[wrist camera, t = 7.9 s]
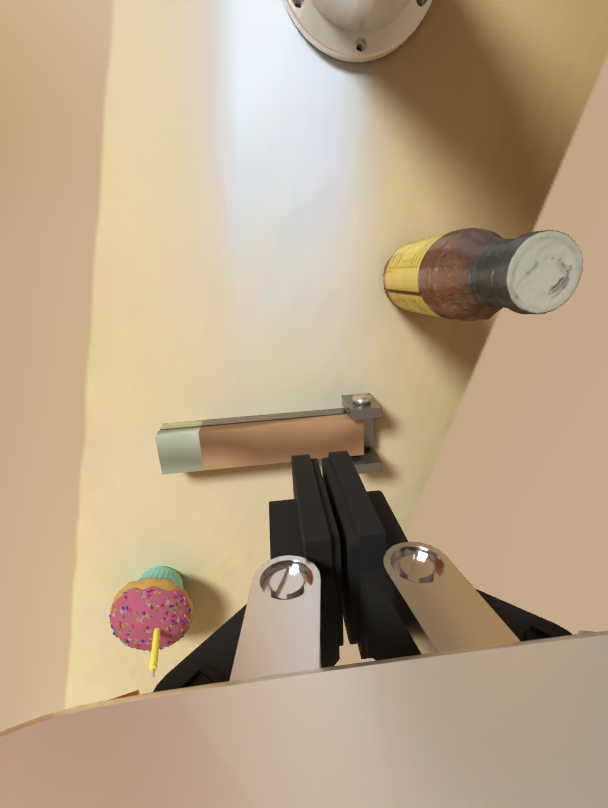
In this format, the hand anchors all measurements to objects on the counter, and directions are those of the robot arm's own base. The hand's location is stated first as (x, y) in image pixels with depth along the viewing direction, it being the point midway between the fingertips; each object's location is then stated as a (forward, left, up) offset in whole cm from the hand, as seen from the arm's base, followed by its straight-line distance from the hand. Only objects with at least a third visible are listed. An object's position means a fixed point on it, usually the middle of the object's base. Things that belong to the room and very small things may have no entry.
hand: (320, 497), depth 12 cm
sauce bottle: (-5, +13, -29) cm, 32 cm away
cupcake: (+28, -16, -29) cm, 44 cm away
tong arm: (+10, -3, -27) cm, 29 cm away
